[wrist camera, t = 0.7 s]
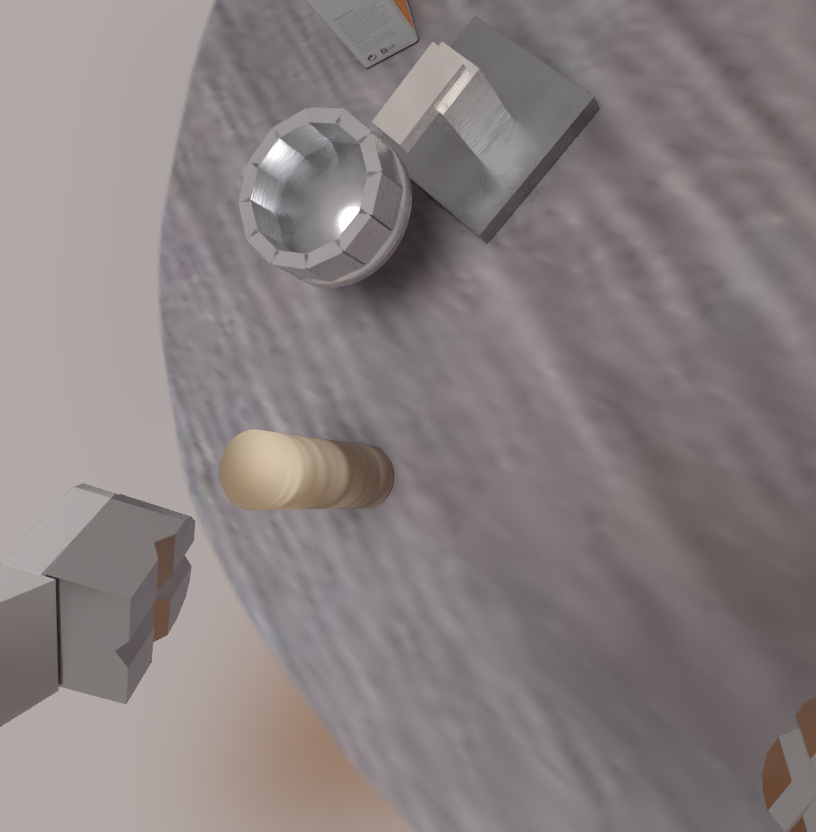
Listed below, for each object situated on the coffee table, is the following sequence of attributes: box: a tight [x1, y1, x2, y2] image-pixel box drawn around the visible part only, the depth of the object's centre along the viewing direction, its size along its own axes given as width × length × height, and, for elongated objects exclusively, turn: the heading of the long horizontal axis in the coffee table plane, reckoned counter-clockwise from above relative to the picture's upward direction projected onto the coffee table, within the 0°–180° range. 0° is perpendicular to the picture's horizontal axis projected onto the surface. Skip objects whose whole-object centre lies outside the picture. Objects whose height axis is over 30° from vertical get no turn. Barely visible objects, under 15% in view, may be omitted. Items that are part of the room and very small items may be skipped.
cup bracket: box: [239, 16, 599, 288], centre depth 44 cm, size 18×10×10 cm, turn 136°
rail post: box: [220, 430, 394, 510], centre depth 43 cm, size 4×4×12 cm
